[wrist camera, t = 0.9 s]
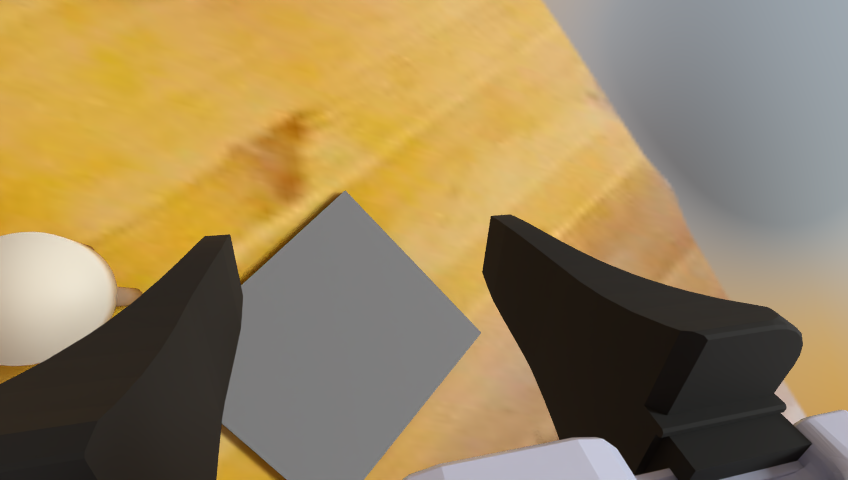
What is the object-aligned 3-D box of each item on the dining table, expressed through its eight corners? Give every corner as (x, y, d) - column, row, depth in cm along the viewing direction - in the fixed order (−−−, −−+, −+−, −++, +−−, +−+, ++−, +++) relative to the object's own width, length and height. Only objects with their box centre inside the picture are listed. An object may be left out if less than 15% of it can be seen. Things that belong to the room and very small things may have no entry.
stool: (76, 371, 22) (18, 394, 17) (-11, 299, 21) (-100, 299, 16) (163, 296, 24) (136, 295, 19) (86, 227, 23) (35, 205, 18)
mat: (330, 514, 26) (332, 519, 25) (156, 363, 24) (154, 364, 23) (477, 332, 30) (481, 332, 30) (343, 192, 28) (345, 190, 28)
